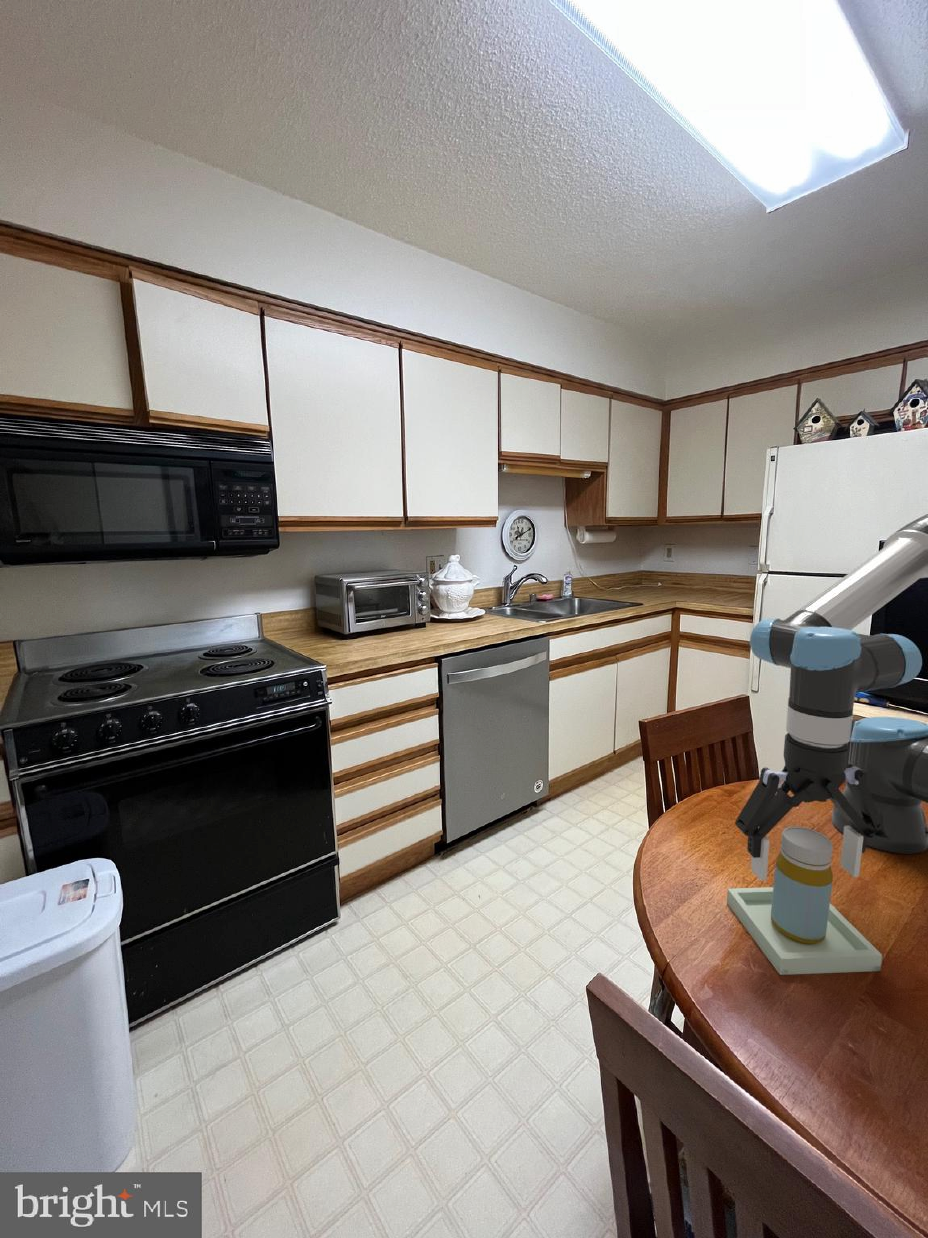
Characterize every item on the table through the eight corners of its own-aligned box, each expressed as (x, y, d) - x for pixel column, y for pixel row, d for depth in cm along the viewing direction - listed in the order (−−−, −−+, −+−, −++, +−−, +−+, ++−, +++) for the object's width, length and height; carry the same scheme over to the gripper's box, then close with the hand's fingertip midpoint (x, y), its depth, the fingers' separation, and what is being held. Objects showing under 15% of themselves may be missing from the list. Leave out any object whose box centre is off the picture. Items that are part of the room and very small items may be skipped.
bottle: (834, 950, 74) (846, 855, 71) (780, 943, 75) (789, 849, 73) (812, 915, 81) (823, 827, 78) (763, 909, 82) (771, 822, 79)
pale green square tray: (810, 899, 85) (812, 885, 85) (880, 971, 71) (882, 955, 71) (726, 902, 85) (727, 888, 84) (779, 975, 71) (781, 959, 71)
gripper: (882, 724, 77) (867, 853, 80) (715, 730, 76) (707, 860, 80) (928, 745, 69) (909, 887, 73) (743, 752, 69) (733, 894, 72)
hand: (803, 873), depth 76 cm, fingers open, 13 cm apart
